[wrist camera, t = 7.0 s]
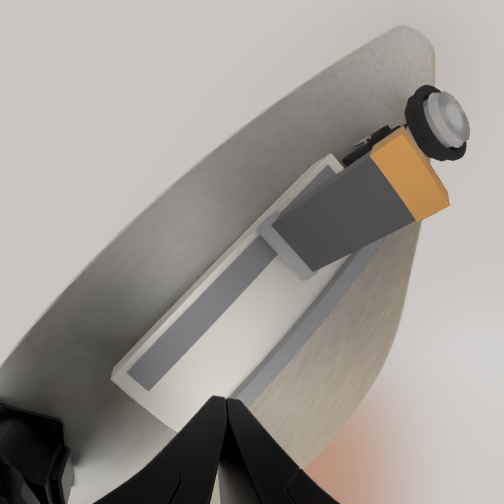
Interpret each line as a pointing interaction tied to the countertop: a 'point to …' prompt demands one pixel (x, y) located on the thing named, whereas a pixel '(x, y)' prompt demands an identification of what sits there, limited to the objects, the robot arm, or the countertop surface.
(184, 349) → the panel
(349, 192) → the lever
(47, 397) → the countertop surface
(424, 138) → the push button
